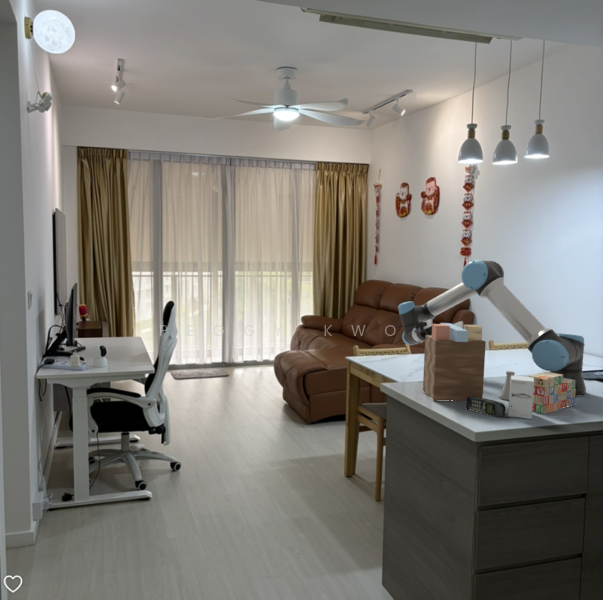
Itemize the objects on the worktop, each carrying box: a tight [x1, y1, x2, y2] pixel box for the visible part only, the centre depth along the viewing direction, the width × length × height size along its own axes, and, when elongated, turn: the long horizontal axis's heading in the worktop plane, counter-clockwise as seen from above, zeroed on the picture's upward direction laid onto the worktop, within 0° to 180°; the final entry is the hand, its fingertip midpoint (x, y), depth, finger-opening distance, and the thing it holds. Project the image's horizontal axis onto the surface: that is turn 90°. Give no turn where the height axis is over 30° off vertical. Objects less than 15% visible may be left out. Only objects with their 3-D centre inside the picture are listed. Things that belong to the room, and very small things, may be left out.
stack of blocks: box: [528, 371, 576, 414], centre depth 198 cm, size 21×6×12 cm, turn 128°
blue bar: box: [439, 322, 468, 342], centre depth 210 cm, size 22×4×4 cm, turn 1°
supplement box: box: [507, 375, 534, 420], centre depth 187 cm, size 7×7×13 cm
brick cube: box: [432, 323, 450, 340], centre depth 206 cm, size 5×5×5 cm
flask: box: [498, 370, 516, 401], centre depth 209 cm, size 7×7×10 cm
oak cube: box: [463, 324, 483, 340], centre depth 206 cm, size 5×5×5 cm
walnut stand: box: [422, 335, 486, 402], centre depth 209 cm, size 14×18×22 cm
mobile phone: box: [466, 397, 511, 419], centre depth 188 cm, size 5×3×15 cm
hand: (447, 323), depth 226 cm, fingers open, 13 cm apart
